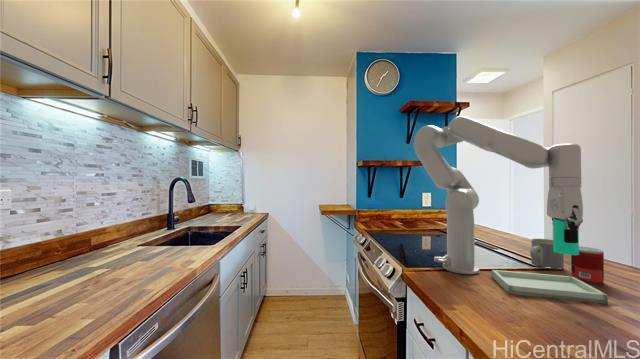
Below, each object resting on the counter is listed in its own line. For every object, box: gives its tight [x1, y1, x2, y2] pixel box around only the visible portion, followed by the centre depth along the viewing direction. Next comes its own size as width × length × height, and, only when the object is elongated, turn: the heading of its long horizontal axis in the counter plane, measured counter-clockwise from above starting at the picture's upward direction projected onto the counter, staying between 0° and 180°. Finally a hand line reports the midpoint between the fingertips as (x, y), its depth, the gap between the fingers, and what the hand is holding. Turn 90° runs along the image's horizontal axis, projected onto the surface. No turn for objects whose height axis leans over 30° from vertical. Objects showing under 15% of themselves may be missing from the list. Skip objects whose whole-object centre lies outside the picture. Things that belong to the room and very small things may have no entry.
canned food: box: [570, 245, 605, 285], centre depth 92 cm, size 8×8×11 cm
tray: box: [491, 269, 609, 305], centre depth 84 cm, size 24×15×2 cm, turn 74°
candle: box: [552, 218, 580, 256], centre depth 83 cm, size 6×6×12 cm
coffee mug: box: [529, 238, 564, 269], centre depth 108 cm, size 13×10×10 cm
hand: (565, 240), depth 83 cm, fingers closed on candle, 4 cm apart
